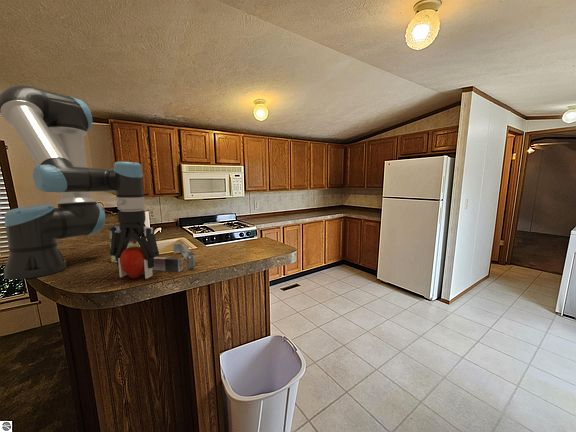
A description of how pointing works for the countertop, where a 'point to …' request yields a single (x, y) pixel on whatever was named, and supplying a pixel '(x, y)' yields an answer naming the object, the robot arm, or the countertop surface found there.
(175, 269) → the long grey bar
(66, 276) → the countertop surface
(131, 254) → the apple
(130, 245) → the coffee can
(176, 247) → the jaw
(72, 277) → the countertop surface
